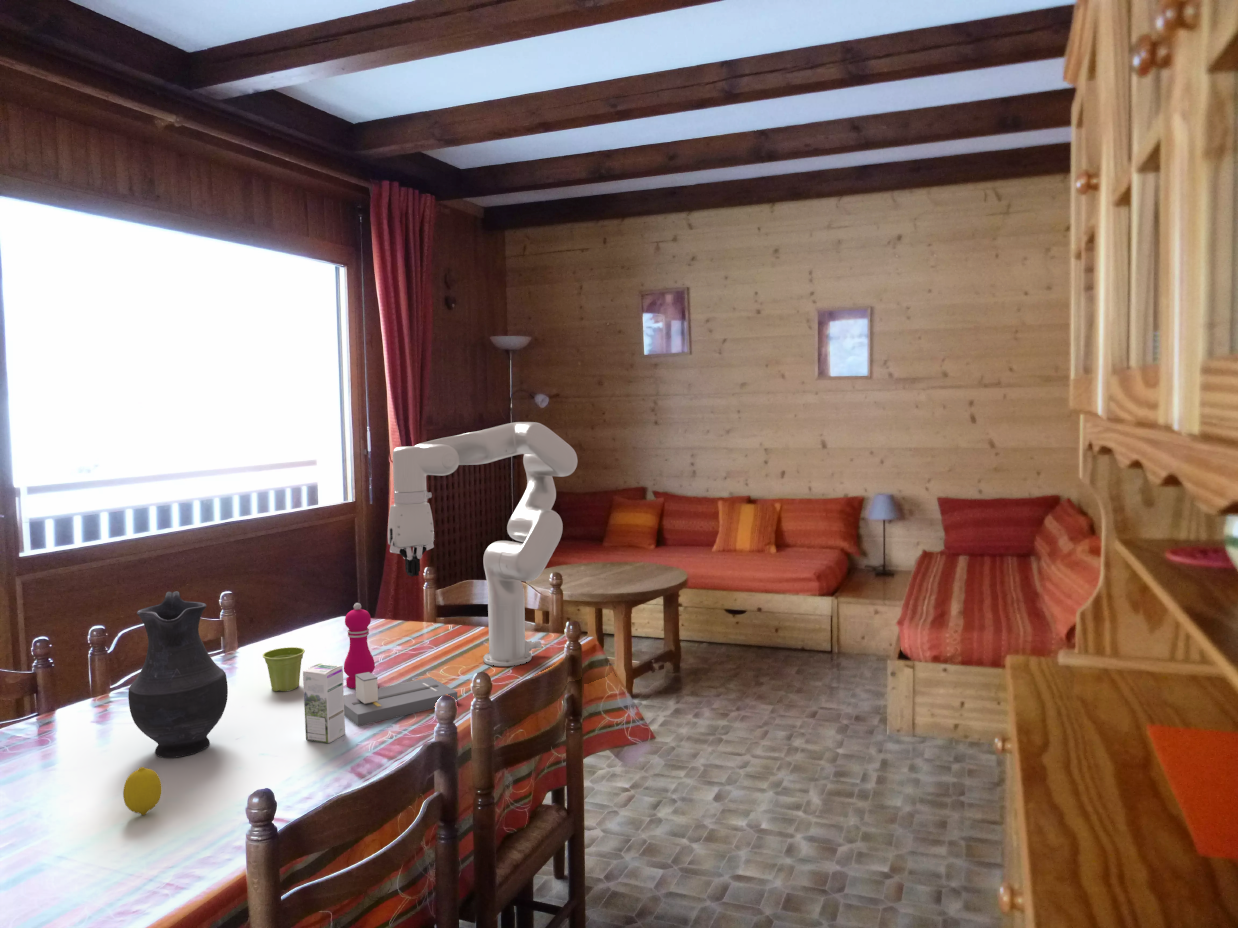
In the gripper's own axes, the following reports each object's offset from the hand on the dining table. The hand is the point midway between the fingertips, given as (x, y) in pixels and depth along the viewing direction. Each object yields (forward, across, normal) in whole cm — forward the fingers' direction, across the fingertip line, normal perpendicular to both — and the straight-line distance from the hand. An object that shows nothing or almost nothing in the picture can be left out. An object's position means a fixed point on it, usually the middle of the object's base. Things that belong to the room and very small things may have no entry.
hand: (412, 575), depth 206 cm
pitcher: (+27, +52, +5) cm, 59 cm away
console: (+27, +9, +10) cm, 30 cm away
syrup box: (+27, +28, +19) cm, 43 cm away
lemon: (+27, +63, +34) cm, 77 cm away
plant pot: (+27, +25, -19) cm, 42 cm away
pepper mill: (+27, +10, -10) cm, 31 cm away
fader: (+24, +16, +10) cm, 30 cm away
